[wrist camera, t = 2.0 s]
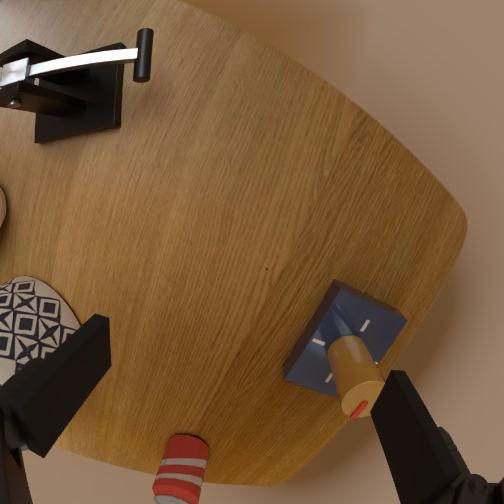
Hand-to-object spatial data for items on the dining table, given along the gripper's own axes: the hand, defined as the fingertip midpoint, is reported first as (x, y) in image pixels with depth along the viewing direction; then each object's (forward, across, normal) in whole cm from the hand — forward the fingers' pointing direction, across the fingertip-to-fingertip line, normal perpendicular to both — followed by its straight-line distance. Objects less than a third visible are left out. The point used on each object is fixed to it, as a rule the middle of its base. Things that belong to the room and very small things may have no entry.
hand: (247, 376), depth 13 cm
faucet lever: (+11, -19, +16) cm, 27 cm away
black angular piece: (+19, -24, +15) cm, 34 cm away
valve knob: (+16, +11, -8) cm, 21 cm away
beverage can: (+20, -5, -31) cm, 37 cm away
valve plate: (+19, +11, -8) cm, 24 cm away
